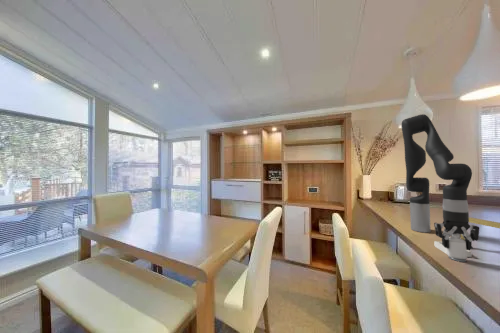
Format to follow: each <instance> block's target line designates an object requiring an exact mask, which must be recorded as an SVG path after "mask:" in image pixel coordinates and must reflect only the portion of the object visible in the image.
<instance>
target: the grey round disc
mask: <svg viewBox="0 0 500 333" xmlns="http://www.w3.org/2000/svg"><path fill="white" fill-rule="evenodd" d="M448 259H450V260H452V261H454V260H455V262H458V261H459V263H467V259H456V258H451V257H449V256H448Z"/></svg>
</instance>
